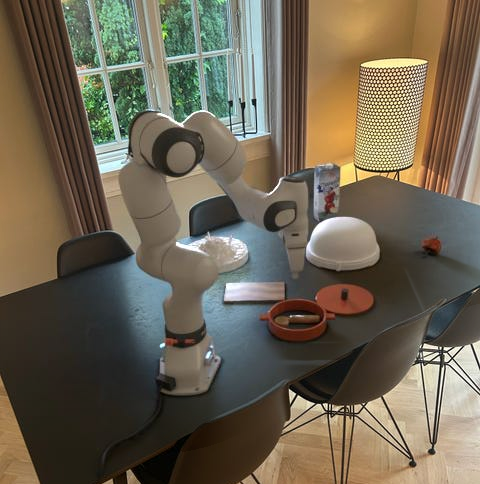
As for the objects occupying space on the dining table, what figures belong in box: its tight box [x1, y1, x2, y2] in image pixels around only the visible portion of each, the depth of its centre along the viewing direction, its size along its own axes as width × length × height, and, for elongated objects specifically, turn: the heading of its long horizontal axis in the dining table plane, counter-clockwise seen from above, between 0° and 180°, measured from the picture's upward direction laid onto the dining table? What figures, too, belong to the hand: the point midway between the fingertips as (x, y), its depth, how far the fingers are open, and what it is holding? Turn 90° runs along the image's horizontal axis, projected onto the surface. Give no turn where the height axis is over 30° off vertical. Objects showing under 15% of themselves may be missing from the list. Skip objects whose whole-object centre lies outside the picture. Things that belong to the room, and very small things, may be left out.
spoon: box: [274, 314, 321, 328], centre depth 165 cm, size 15×5×3 cm, turn 86°
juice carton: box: [313, 162, 342, 224], centre depth 230 cm, size 9×10×27 cm
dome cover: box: [305, 216, 381, 272], centre depth 203 cm, size 32×30×14 cm
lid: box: [315, 283, 375, 316], centre depth 175 cm, size 20×20×4 cm
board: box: [223, 281, 286, 305], centre depth 184 cm, size 13×22×1 cm, turn 86°
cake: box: [186, 231, 249, 274], centre depth 208 cm, size 28×28×10 cm
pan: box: [259, 298, 336, 342], centre depth 164 cm, size 19×24×4 cm
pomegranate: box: [421, 236, 442, 257], centre depth 200 cm, size 7×7×10 cm
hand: (293, 270), depth 157 cm, fingers open, 8 cm apart
